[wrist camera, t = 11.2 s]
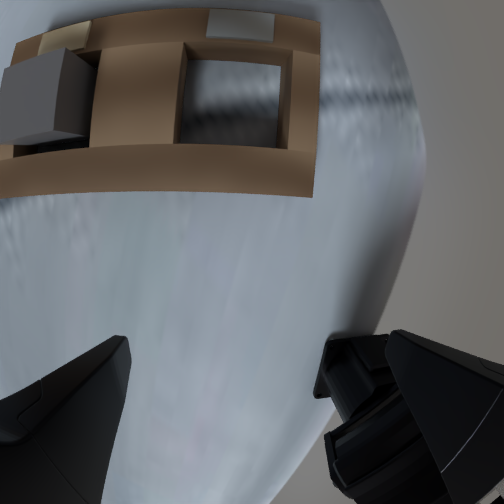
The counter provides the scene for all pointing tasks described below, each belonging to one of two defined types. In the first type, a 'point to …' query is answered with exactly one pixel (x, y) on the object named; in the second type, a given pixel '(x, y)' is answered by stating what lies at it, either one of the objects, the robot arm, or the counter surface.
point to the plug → (47, 100)
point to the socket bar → (174, 106)
